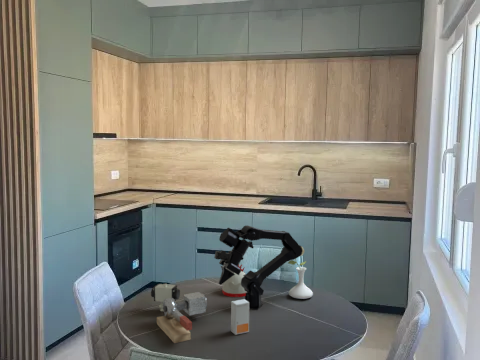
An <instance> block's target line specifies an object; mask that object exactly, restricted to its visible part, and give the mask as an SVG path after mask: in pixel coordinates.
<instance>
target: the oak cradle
mask: <svg viewBox="0 0 480 360" xmlns="http://www.w3.org/2000/svg"><path fill="white" fill-rule="evenodd" d="M156 324H157V326H158V327H159V328H160V329H161V330H162V331H163V333H164V334H165V335H166V336H167V337H168V338H169V339H170V340H171V341H172V343H174V344H177V343H181V342H186V341H190V340H191V339H192V338H191V336H192V335H191V330H188V331H187V330H186V329H185V328H184V327H183V326H182V325H180V322H179V321H177V320H176V319H175V318H174V317H172V318H166V317H165V315H162V316H157V317H156Z"/></svg>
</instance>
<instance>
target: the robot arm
mask: <svg viewBox="0 0 480 360" xmlns="http://www.w3.org/2000/svg"><path fill="white" fill-rule="evenodd" d="M264 239H265V240H275V241H277V240H278V241H280V242H281V245H282V246H283V247H282V248H281V251H280V253H279V254H277V255H276V256H275V257H273V258H272V259H271V260H269V261H268V262H267V263H266V264H265V265H263V266H262V267H261V268H259V269H258V270H257V271H252V270H249V271H248V272H247V273H245V275H243V276H244V277H243V278H242V279H241V286H242V287H243V288H244V290H245V291H246V296H244V299H245V300H247V301H248V302H249V309H250V310H251V309H252V310H259V309H260V308H261V307H262V306H263V303H262V296H263V295H264V289H263V288H262V284H263V282H264V281H265V279H266V278H268V277H269V276H270V275H272V274H273V273H275V271H277V270H279V269H280V268H281V267H282V266H283V265H285V264H286V263H288V262H289V261H291V260H293V261H295V259H296V260H297V258H300V257H301V255H302V248H303V246H302V247H301V245H300V244H299V243H298V241H296V240H295V239H294V238H293V237H292V235H291V234H290V232H288V231H285V230H271V229H270V230H269V229H261V228H257V227H254V226H251V225H244V226H243V227H242V228H241V229H239V230H237V231H235V230H233V229H232V228H230V227H227V228H226V229H225V230H223V232H221V233H220V235H219V238H218V240H219V241H220V242H221V243H223V244H224V245H226V246H227V247H229V248H232V249H231V250H229V251H228V252H226V250H220V251H218V250H215V253H214V257H213V258H214V259H215V260H220V261H219V262H218V263H219V265H220V269H221V274H220V278H219V280H218V284H219V285H220V286H222V285H223V284H224V282H225V281H227V280H228V279H229V278H231V277H232V276H233V275H235V274H234V273H236V274H237V275H239V274H240V272H241V269H242V268H241V269H240V268H239V267H240V263H241V261H243V260H244V256H245V254H246V253H247V251H248V249H249V248H250V249H254V245H253V244H254V243H253V241H259V240H264ZM299 256H300V257H299ZM238 265H239V266H238Z"/></svg>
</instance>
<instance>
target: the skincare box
mask: <svg viewBox="0 0 480 360" xmlns="http://www.w3.org/2000/svg"><path fill="white" fill-rule="evenodd" d="M230 306H231V307H230V331H231V332H232V333H233V334H234V335H235V336H236V335H241V334H245V333H249V332H250V308H249V302H248V301H247V300H245V298H243V299H237V300H232V301H231V302H230Z"/></svg>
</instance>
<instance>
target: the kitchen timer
mask: <svg viewBox="0 0 480 360" xmlns="http://www.w3.org/2000/svg"><path fill="white" fill-rule="evenodd" d="M238 266H239V268H240V269H241V272H240V274H239V275H237V274H236V273H234V274H235V275H233V276H232V277H231V278H229V279H228V280H227V281H225V282H224V283H223V284H222V289H221V290H222V295H224V296H225V297H226V296H227V297H231V298H243V296H244V297H245V296H246V291H245V290H244V288H243V287H242V286H241V279H242V278H243V277H244V276H243V275H245V274H246V273H245V272H244V269H245V267H243V268H242V266H243V264H239V265H238Z"/></svg>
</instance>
